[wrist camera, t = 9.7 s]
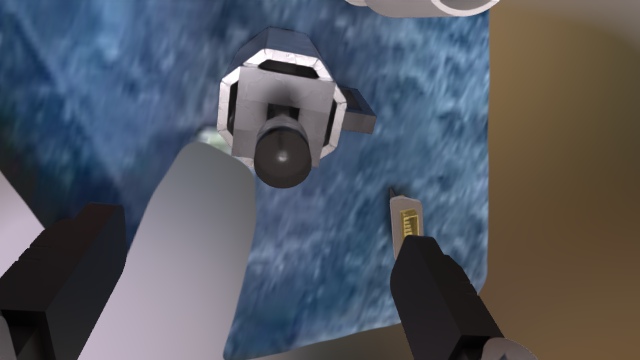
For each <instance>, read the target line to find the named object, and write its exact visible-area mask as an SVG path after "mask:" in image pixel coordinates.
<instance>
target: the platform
mask: <svg viewBox="0 0 640 360" xmlns="http://www.w3.org/2000/svg"><path fill="white" fill-rule="evenodd" d="M390 210H391V223H392V235H393V248H394V257H395V260H396V259H397V256H398V254H399V251H400V248H401V246H402V243H403V240H404V238H405V237H406V236H407V235H412V234H413V235H418V236H423V210H422V205H421V203H420V201H419V200H417V199H412V198H408V197H405V196H404V195H399V196H395V194H394V192H393V190H392V188H391V187H390ZM405 220H406V221H405ZM409 222H410V224H409ZM405 224H406V225H405ZM410 226H411V228H409V227H410ZM405 228H406V229H405ZM411 230H412V231H411ZM408 231H409V232H408Z"/></svg>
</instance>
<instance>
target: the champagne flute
mask: <svg viewBox="0 0 640 360" xmlns="http://www.w3.org/2000/svg"><path fill="white" fill-rule="evenodd" d="M345 1H346V2H348V3H350V4H352V5H356V6H369V7H370V8H371V9H372V10H373V11H375V12H377V13H378V14H380V15H382V16H386V17H390V18H416V17H455V16H470V15H475V14H478V13H480V12H483V11H485V10H487V9H489V8H490V7H492V6H493V5H495V4H496V3H497V2H498V1H499V0H345Z"/></svg>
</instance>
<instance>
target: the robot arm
mask: <svg viewBox="0 0 640 360" xmlns="http://www.w3.org/2000/svg"><path fill="white" fill-rule="evenodd" d="M126 257H127V242H126V228H125V213H124V208H123V206H122V205H119V204H109V203H99V202H89V203H87V205H86V206H85V207H84V208H83V209H82V211H81V212H80V213H79V214H78V215H77V217H76V218H75V219H74V220H73V219H62V220H60V221H59V222H57V223H55V224H53V225H52V226H50V227H48V228H46V229H45V230H43V231H42V232H41V233H40V235H39V236H38V237H37V238H36V239H35V240H34V241H33V242H32V243H31V244H30V248H27V249H26V250H25V251H24V253H22V254H21V256H20V257H19V260H18V261H15V262H14V263H13V264H12V266H11V267H10V268H9V269H8V270H7V271H6V272H5V273H4V274H3V276H2V277H1V278H0V360H77V359H78V357H79V355H80V353H81V352H82V350H83V347H84V346H85V344H86V342H87V340H88V338H89V336H90V334H91V332H92V330H93V328H94V326H95V324H96V322H97V321H98V319H99V317H100V315H101V313H102V311H103V309H104V307H105V305H106V303H107V301H108V299H109V297H110V295H111V294H112V292H113V290H114V288H115V286H116V284H117V282H118V280H119V278H120V276H121V274H122V272H123V269H124V266H125V262H126ZM390 289H391V293H392V296H393V299H394V302H395V305H396V308H397V311H398V314H399V317H400V320H401V323H402V325H403V328H404V331H405V334H406V337H407V340H408V343H409V346H410V349H411V351H412V354H413V357H414V360H538V359H537V358H536V357H535V356H534V355H533V354H532V353H531V352H530V351H529V350H528V349H526V348H525V347H523V346H522V345H520V344H518V343H517V342H514V341H512V340H509V339H506V338H505V337H504V336H503V334H502V333H501V331H500V329H499V328H498V326H497V324H496V323H495V321H494V319H493V318H492V316H491V315H490V313H489V311H488V310H487V308H486V306H485V305H484V303H483V301H482V300H481V298H480V297H479V296H477V292H476V290H475V288H474V287H473V285H472V284H470V280H469V279H468V277H467V275H466V274H465V272H464V270H463V269H462V267H461V266H460V265H458V264H457V263H456V262H455V261H454V260H453V259H452V258H451V257H450V256H449V255H444V254H443V252H442V251H441V249H440V247H439V245H438V244H437V242H436V240H435V239H434V238H433V237H428V236H418V235H407V236H406V237H405V238H404V240H403V243H402V246H401V248H400V251H399V254H398V256H397V259H396V262H395V264H394V267H393V270H392V273H391V277H390Z"/></svg>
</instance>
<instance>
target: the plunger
mask: <svg viewBox="0 0 640 360" xmlns="http://www.w3.org/2000/svg"><path fill="white" fill-rule="evenodd" d="M258 66H259V67H265V68H270V69H276V70H281V71H287V72H292V73H298V74H304V75H309V76H315V73H314V70H313V68H312V67H309V66H304V65H298V64H293V63H288V62H282V61H277V60H271V59H266V60H265V61H263V62H262V63H261V64H259V65H258ZM315 77H316V76H315ZM298 111H299V108H296V107H290V106H284V105H278V104H272V103H268V109H267V117H266V119H269V120H268V121H267V122H265V123H264V124H263V125H262V126H261V128H260V129H259V131H258V134H257V140H256V147H255V154H254V169H255V171H256V174H257V175H258V177H259V178H260V179H261V180H262V181H263V182H264V183H266V184H267V185H269V186H272V187H275V188H290V187H294V186H296V185H298V184H300V183H301V182H302V181H304V180H305V179H306V177H307V176H308V174H309V172H310V170H311V166H312V159H311V153H310V147H309V142H308V136H307V133H306V131H305V129H304V127H303V126H302V125H301V124H300V123H299V122H298V121H296V120H295V119H297V116H298Z"/></svg>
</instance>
